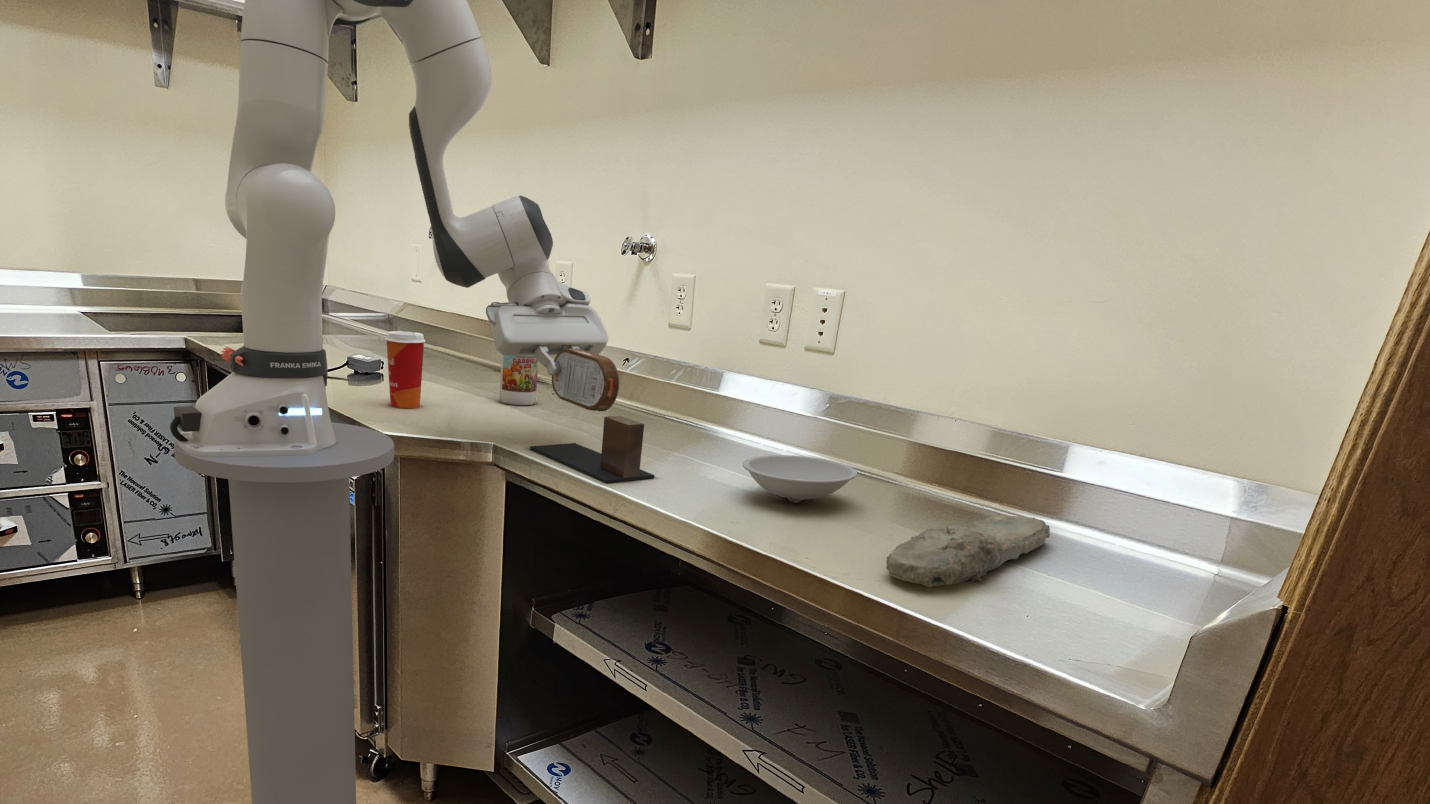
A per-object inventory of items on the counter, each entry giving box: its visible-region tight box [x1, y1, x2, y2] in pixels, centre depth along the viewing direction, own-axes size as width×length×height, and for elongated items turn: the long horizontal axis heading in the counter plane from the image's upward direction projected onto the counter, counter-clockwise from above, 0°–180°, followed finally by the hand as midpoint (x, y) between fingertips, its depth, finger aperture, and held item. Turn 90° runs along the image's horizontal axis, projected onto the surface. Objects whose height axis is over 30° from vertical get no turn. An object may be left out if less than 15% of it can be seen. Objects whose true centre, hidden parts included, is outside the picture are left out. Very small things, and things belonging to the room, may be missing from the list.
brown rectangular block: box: [600, 415, 645, 478], centre depth 126 cm, size 3×6×8 cm, turn 35°
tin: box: [551, 349, 620, 412], centre depth 132 cm, size 15×3×8 cm, turn 36°
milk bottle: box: [499, 354, 539, 406], centre depth 175 cm, size 8×8×20 cm
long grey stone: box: [885, 514, 1051, 588], centre depth 101 cm, size 35×5×10 cm
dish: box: [742, 454, 858, 503], centre depth 121 cm, size 18×14×5 cm
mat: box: [529, 442, 655, 484], centre depth 133 cm, size 9×22×1 cm, turn 35°
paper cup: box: [384, 330, 426, 410], centre depth 163 cm, size 8×8×14 cm
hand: (566, 373), depth 135 cm, fingers closed on tin, 2 cm apart
